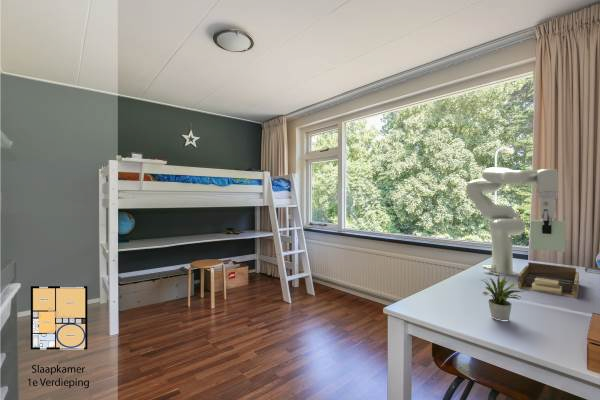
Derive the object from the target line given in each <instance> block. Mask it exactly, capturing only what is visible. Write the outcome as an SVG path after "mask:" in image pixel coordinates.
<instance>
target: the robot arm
mask: <svg viewBox="0 0 600 400" xmlns="http://www.w3.org/2000/svg"><path fill="white" fill-rule="evenodd" d="M481 175H482V178H483V179H474V180H470V181H469V182H468V183H467V184H466V194H467V196H468V198H469V200H470V201H471V202H472V203H473V204H474V205H475V206H476V207H477V210H479V212H480V213H481V215H482V216H483V217H484V219H485V220H487V221H490V223H489V231H490V232H489V233H490V237H491V262H492V263H490V265H482V269H483V270H487V271H489V273H490V274H491V275H495V276H498V275H499V276H516V275H517V272H515V271H514V270H513V269H514V267H513V266H514V265H513V264H514V263H513V261H514V260H513V242H512V240H511V238H510V236H517V235H522V234H524V232H525V230H526V227H525V226H526V225H525V223H524V222H523V220H522V219H521V218H520V216H519V215H518V214H517V212H515V210H514V209H513V208H512V207H511V206H509V205H506V204H496V203H494V202H493V201H492V199H491V198H490V197H489V196H487V195H486V194H488V193H489V194H492V193H495V192H497V191H498V190H499V189H501V188H502V187H503V186H504V185H513V186H536V199H539V216H540V219H541V220H543V225H542V233H543V234H551V221H553V220H554V219H556V218H557V213H556V212H557V209H556V207H557V205H556V204H557V203H556V199H558V198H559V186H558V185H559V178H558V176H559V175H558V170H557V169H555V168H546V169H545V168H544V169H535V170H534V169H527V170H525V169H524V170H521V169H519V170H517V169H516V170H514V169H513V168H509V167H508V168H507V167H488V168H486V169H485V170H483V172H482V174H481Z"/></svg>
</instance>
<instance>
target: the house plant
mask: <svg viewBox="0 0 600 400" xmlns="http://www.w3.org/2000/svg"><path fill="white" fill-rule="evenodd" d="M487 279H489V280H490V282H491V283H492V285H491V284H490V283H489V282H488V280H487ZM487 279H480V281H482V282H484V283H485V284H486V285H487V286H485V287H484V288H485V289H486V290H488V291H489V292H490V293H489V292H487V291H483V292H482V293H481V294H482V295H483V296H489V297H491V298H490V299H488V306H489V310H490V311H489V312H490V316H491V318H492V317H494V318H496V319H500V320H509V321H510V317H511V315H510V314H511V310H512V302H510V301H508V300H510V299H515V300H516V299H517V300H519V301H521V300H520V299H522V296H520V295H518V294H513V293H523V291H522V290H512V288H514V289H517V288H518V287H519V286H518V283H520V282H518V281H517V282H514V283H512V284H510V285H509V286H508V287H506V288H505V285H506V284H507V283H508V282H509V281H510V280H511V279H512V277H510V278H508V279H507V280H506V277H505V276H504V277H502V279H501V280H500V275H497V281H496V282H495V281H494V279H493V278H491V277H487ZM496 283H497V284H496ZM492 286H493V287H492ZM516 287H517V288H516ZM504 288H505V289H504Z"/></svg>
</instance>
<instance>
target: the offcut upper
mask: <svg viewBox="0 0 600 400" xmlns="http://www.w3.org/2000/svg"><path fill="white" fill-rule="evenodd" d="M535 285H538V286H545V287H551V288H557V289H558V288H559V281H557V280H550V279H543V278H535Z"/></svg>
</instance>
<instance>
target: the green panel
mask: <svg viewBox="0 0 600 400" xmlns="http://www.w3.org/2000/svg"><path fill="white" fill-rule="evenodd" d="M542 225H543V219H541V220H540V219H538V220H537V219H531V220H530V249H531V250H541V251H548V252H550V251H552V252H561V253H565V252H566V221H565V220H563V221H562V220H552V221H551V234H543V233H542Z"/></svg>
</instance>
